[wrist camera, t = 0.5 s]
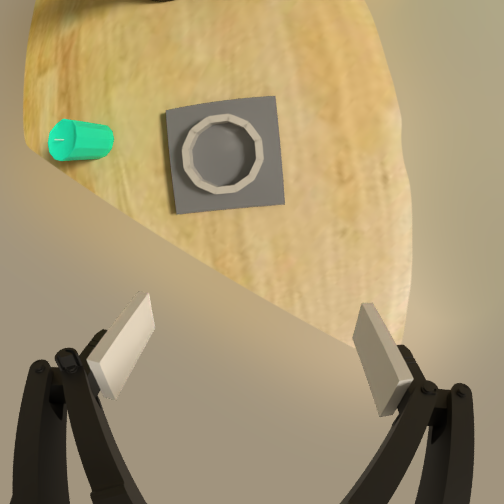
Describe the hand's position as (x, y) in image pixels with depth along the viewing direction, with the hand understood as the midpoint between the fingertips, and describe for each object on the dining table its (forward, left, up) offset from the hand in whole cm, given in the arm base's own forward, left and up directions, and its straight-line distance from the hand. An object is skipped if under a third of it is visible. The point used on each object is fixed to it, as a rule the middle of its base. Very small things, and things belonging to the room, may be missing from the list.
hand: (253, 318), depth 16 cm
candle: (-17, -25, -27) cm, 40 cm away
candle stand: (-11, -4, -27) cm, 29 cm away
